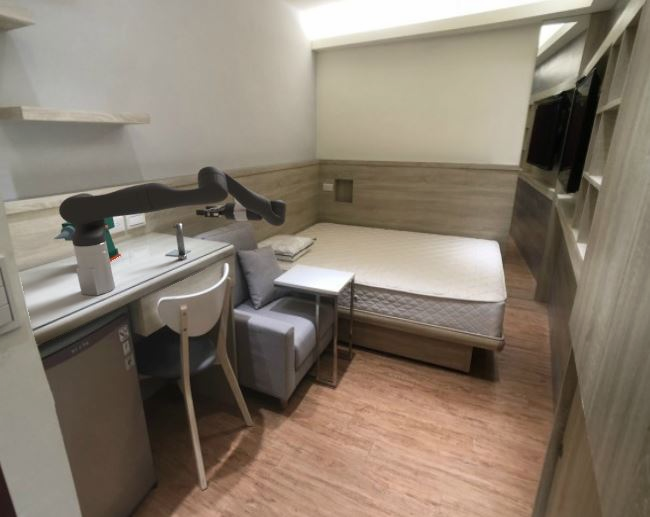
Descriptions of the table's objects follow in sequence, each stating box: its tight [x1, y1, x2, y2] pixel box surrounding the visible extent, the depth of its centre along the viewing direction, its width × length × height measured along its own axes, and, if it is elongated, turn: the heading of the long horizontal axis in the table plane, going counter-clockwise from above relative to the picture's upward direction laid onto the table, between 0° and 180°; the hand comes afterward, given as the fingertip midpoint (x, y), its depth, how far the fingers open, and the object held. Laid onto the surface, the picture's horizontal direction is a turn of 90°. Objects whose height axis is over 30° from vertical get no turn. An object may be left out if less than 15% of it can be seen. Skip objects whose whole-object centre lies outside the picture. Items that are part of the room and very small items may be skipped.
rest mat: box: [164, 249, 192, 257], centre depth 161 cm, size 8×8×1 cm
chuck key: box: [172, 221, 188, 261], centre depth 151 cm, size 7×4×16 cm, turn 172°
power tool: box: [53, 217, 122, 263], centre depth 139 cm, size 32×7×20 cm, turn 0°
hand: (201, 210), depth 146 cm, fingers open, 8 cm apart
